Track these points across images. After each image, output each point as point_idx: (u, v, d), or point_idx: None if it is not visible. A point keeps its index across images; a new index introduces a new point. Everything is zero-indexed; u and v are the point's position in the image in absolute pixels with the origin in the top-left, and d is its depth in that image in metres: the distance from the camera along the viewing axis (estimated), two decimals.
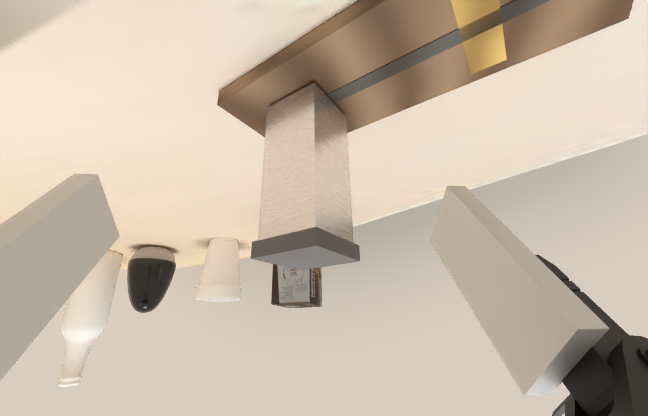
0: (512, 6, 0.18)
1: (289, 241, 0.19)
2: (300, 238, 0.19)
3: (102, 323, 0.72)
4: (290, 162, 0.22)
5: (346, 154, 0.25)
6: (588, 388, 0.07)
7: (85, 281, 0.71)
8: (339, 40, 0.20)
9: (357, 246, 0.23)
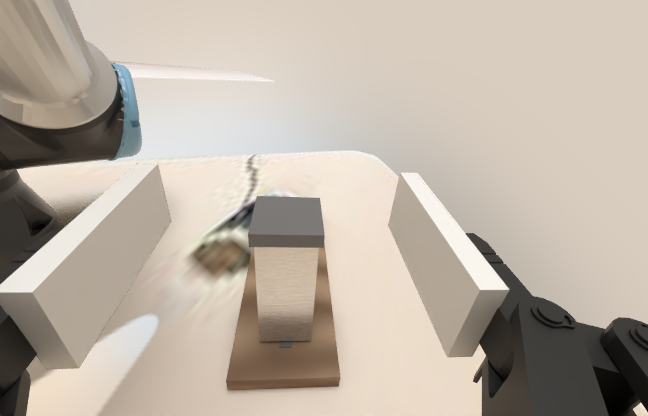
0: None
1: None
2: None
3: None
4: None
5: None
6: (497, 350, 0.07)
7: None
8: (252, 280, 0.36)
9: None
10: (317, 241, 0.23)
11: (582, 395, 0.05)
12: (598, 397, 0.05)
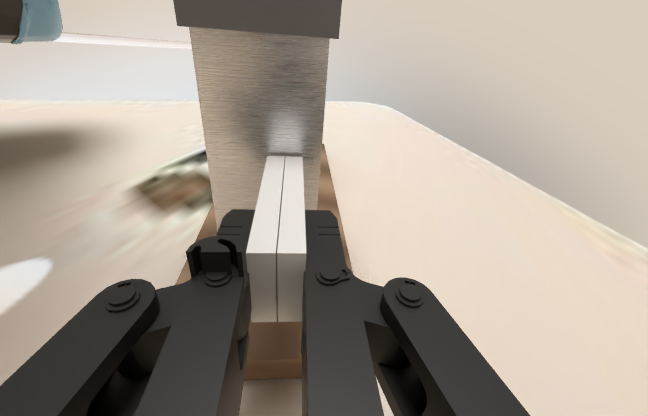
0: None
1: None
2: None
3: None
4: None
5: None
6: (303, 320, 0.08)
7: None
8: None
9: None
10: (326, 17, 0.11)
11: (351, 340, 0.06)
12: (363, 335, 0.06)
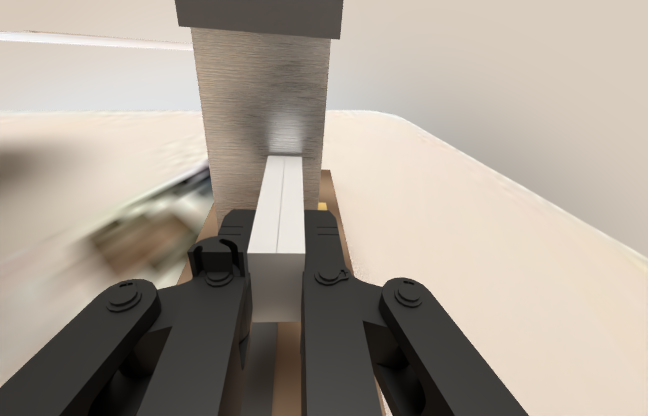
0: None
1: None
2: None
3: None
4: None
5: None
6: (302, 320, 0.08)
7: None
8: None
9: None
10: (327, 18, 0.11)
11: (350, 339, 0.06)
12: (362, 335, 0.06)
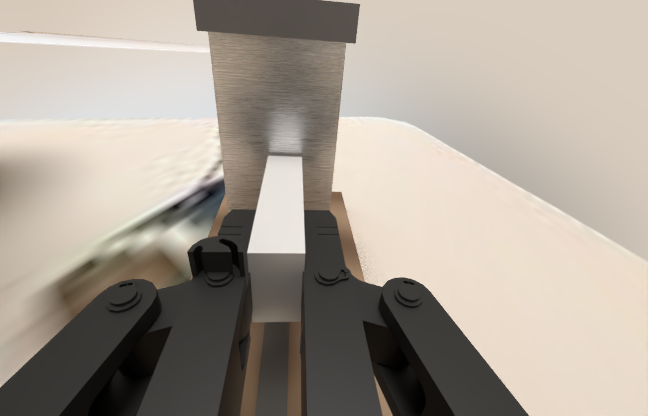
0: None
1: None
2: None
3: None
4: None
5: None
6: (302, 320, 0.08)
7: None
8: None
9: None
10: (344, 22, 0.11)
11: (350, 340, 0.06)
12: (362, 335, 0.06)
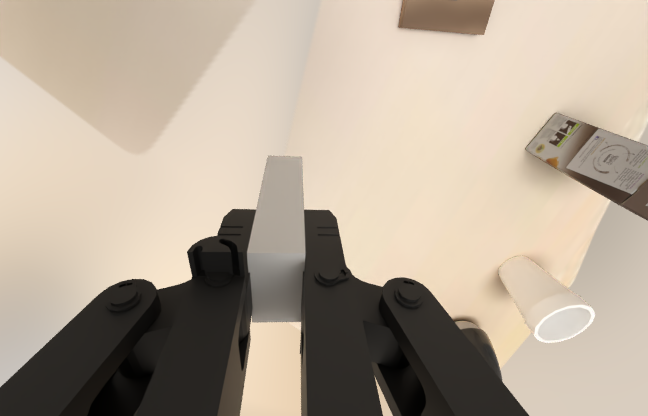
0: None
1: None
2: None
3: None
4: None
5: None
6: (302, 320, 0.08)
7: None
8: None
9: None
10: None
11: (350, 339, 0.06)
12: (362, 335, 0.06)
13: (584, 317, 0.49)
